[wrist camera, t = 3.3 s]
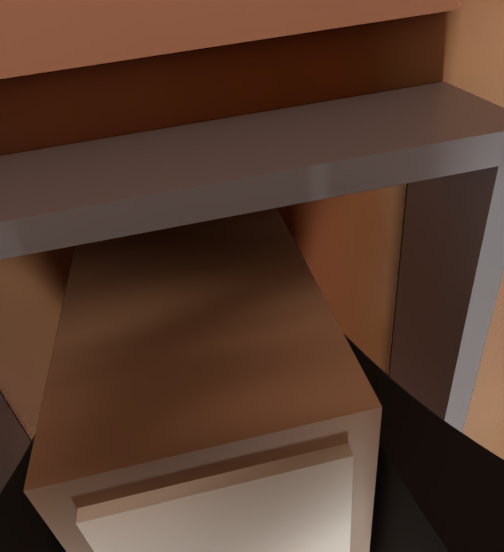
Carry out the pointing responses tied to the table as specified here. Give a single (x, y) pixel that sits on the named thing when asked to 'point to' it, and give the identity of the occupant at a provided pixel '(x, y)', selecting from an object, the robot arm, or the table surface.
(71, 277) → the walnut box
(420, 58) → the table surface
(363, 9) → the tile
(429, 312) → the bin
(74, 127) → the table surface
